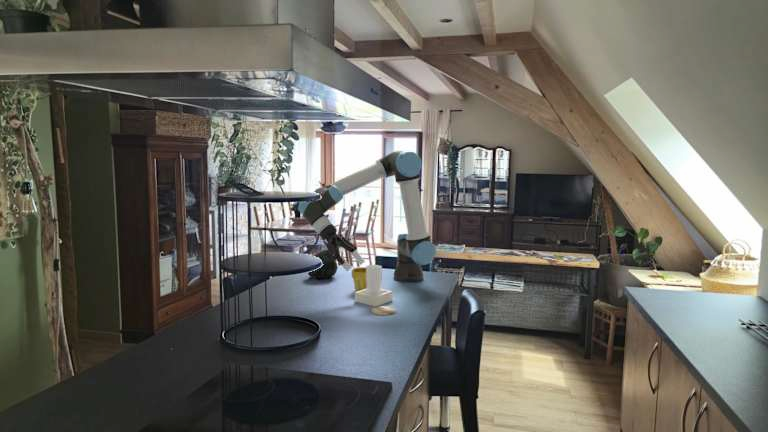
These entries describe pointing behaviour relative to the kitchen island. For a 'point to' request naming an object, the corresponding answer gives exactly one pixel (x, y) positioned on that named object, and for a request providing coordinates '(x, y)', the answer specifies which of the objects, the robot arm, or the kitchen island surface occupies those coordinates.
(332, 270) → the squash
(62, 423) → the kitchen island surface
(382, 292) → the square holder
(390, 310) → the wooden coaster
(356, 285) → the plant pot
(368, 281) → the white cup
